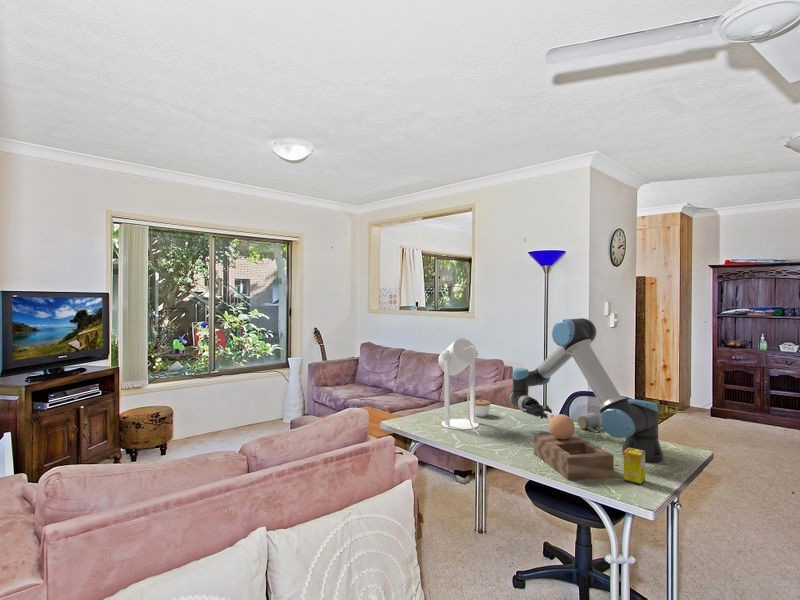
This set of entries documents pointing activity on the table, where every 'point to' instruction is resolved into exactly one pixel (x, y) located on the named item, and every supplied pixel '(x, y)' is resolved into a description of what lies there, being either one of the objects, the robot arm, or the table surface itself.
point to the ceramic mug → (589, 421)
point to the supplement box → (634, 466)
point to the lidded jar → (482, 407)
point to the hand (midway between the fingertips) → (552, 418)
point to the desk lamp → (452, 364)
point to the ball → (561, 426)
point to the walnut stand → (574, 457)
